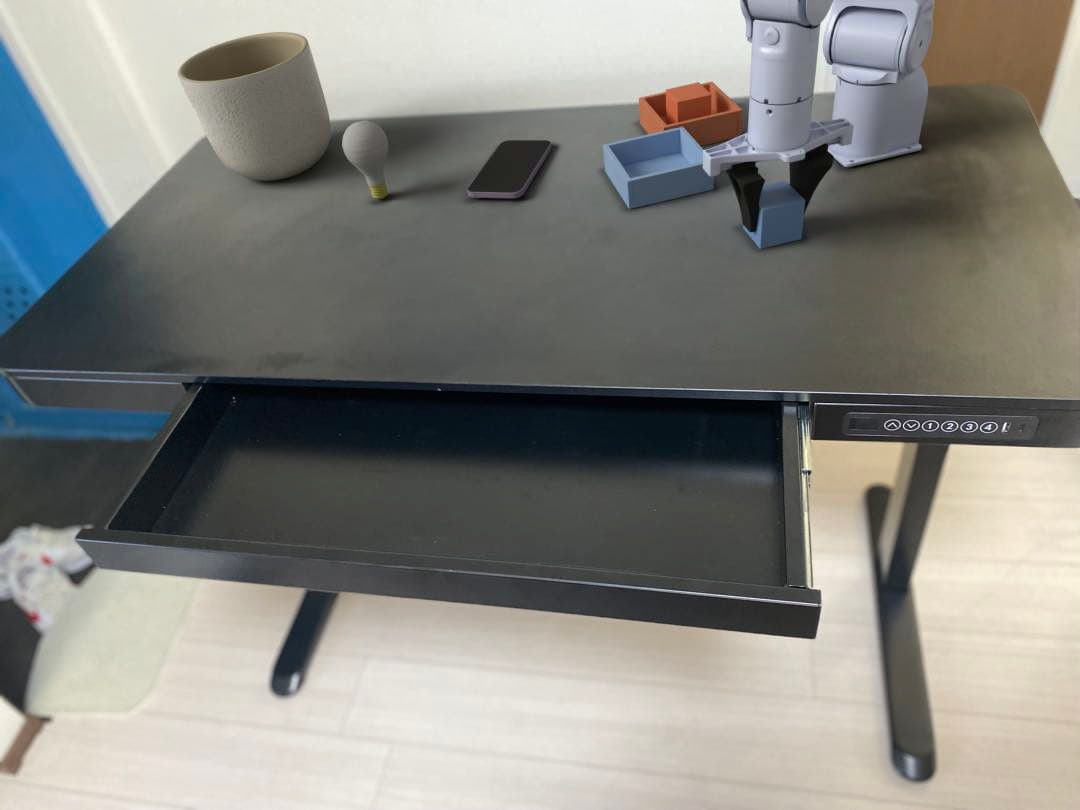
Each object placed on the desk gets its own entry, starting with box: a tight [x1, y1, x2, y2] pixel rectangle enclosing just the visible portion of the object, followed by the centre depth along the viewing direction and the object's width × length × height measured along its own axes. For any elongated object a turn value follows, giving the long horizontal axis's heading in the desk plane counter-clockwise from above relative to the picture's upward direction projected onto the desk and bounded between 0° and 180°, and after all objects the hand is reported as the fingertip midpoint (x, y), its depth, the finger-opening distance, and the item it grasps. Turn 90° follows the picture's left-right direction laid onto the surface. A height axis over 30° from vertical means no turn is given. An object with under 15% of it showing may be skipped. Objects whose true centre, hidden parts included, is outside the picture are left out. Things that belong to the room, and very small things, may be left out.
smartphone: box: [466, 139, 553, 199], centre depth 101 cm, size 7×1×15 cm
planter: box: [177, 31, 332, 182], centre depth 108 cm, size 17×17×15 cm
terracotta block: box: [665, 82, 711, 125], centre depth 102 cm, size 4×4×4 cm
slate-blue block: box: [742, 180, 805, 250], centre depth 82 cm, size 4×4×4 cm
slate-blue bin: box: [602, 127, 715, 210], centre depth 94 cm, size 10×10×4 cm
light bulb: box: [341, 120, 389, 201], centre depth 98 cm, size 6×6×10 cm
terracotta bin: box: [638, 81, 743, 147], centre depth 102 cm, size 10×10×4 cm
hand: (772, 221), depth 82 cm, fingers closed on slate-blue block, 4 cm apart
